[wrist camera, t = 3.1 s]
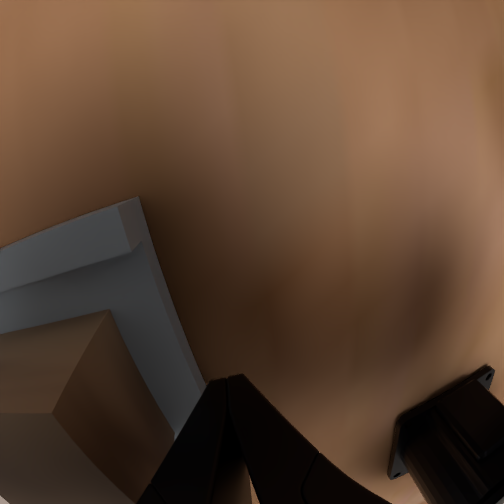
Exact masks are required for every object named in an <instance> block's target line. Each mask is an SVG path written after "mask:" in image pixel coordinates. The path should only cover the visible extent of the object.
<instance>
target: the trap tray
mask: <svg viewBox="0 0 504 504" xmlns="http://www.w3.org/2000/svg"><path fill="white" fill-rule="evenodd" d="M107 309H110V311H111V313H112V316H113V318H114V320H115V323H116V325H117V327H118V329H119V331H120V333H121V336H122V338H123V340H124V342H125V344H126V346H127V348H128V350H129V352H130V354H131V356H132V358H133V360H134V362H135V364H136V366H137V368H138V370H139V372H140V374H141V376H142V377H143V379H144V381H145V383H146V385H147V387H148V388H149V390H150V392H151V394H152V396H153V397H154V399H155V401H156V403H157V404H158V406H159V408H160V409H161V411H162V413H163V414H164V416H165V418H166V419H167V421H168V423H169V424H170V426H171V427H172V429H173V431H174V432H175V437H174V441H175V439H176V438H177V436H178V434H179V433H180V431H181V429H182V427H183V426H184V424H185V422H186V421H187V419H188V417H189V416H190V414H191V412H192V410H193V409H194V407H195V405H196V404H197V402H198V400H199V398H200V397H201V395H202V393H203V391H204V390H205V388H206V384H205V382H204V380H203V377H202V375H201V373H200V370H199V368H198V366H197V363H196V361H195V358H194V356H193V354H192V351H191V349H190V346H189V344H188V341H187V339H186V336H185V334H184V331H183V328H182V326H181V323H180V321H179V318H178V315H177V313H176V310H175V307H174V305H173V302H172V299H171V296H170V293H169V291H168V288H167V285H166V282H165V279H164V276H163V273H162V270H161V267H160V265H159V261H158V258H157V255H156V252H155V249H154V246H153V243H152V240H151V237H150V233H149V230H148V227H147V223H146V220H145V217H144V213H143V210H142V206H141V203H140V199H139V196H138V197H135V198H132V199H129V200H125V201H122V202H119V203H116V204H113V205H110V206H107V207H104V208H102V209H99V210H96V211H93V212H90V213H87V214H85V215H82V216H79V217H76V218H74V219H71V220H68V221H66V222H63V223H60V224H58V225H55V226H53V227H50V228H47V229H45V230H42V231H40V232H37V233H35V234H33V235H30V236H28V237H25V238H23V239H21V240H18V241H16V242H14V243H11V244H9V245H7V246H4V247H2V248H0V334H3V333H7V332H12V331H16V330H21V329H25V328H30V327H34V326H39V325H43V324H47V323H52V322H56V321H60V320H65V319H69V318H73V317H78V316H82V315H86V314H90V313H94V312H99V311H103V310H107Z"/></svg>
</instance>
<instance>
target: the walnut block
mask: <svg viewBox="0 0 504 504" xmlns="http://www.w3.org/2000/svg"><path fill="white" fill-rule="evenodd" d="M174 437H175V432H174V431H173V429H172V427H171V426H170V424H169V423H168V421H167V419H166V418H165V416H164V414H163V413H162V411H161V409H160V408H159V406H158V404H157V403H156V401H155V399H154V397H153V396H152V394H151V392H150V390H149V388H148V387H147V385H146V383H145V381H144V379H143V377H142V376H141V374H140V372H139V370H138V368H137V366H136V364H135V362H134V360H133V358H132V356H131V354H130V352H129V350H128V348H127V346H126V344H125V342H124V340H123V338H122V336H121V333H120V331H119V329H118V327H117V325H116V323H115V320H114V318H113V316H112V313H111V311H110V309H107V310H103V311H99V312H94V313H90V314H86V315H82V316H78V317H73V318H69V319H65V320H60V321H56V322H52V323H47V324H43V325H39V326H34V327H30V328H25V329H21V330H16V331H12V332H7V333H3V334H0V495H1V497H3V498H4V499H5V500H6V501H7V502H9V503H10V504H136V503H137V501H138V500H139V498H140V497H141V495H142V494H143V492H144V490H145V489H146V487H147V485H148V484H149V483H151V479H152V478H153V476H154V474H155V473H156V471H157V469H158V468H159V466H160V464H161V463H162V461H163V459H164V458H165V456H166V454H167V453H168V451H169V449H170V448H171V446H172V444H173V443H174ZM151 484H152V483H151Z"/></svg>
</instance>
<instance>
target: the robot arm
mask: <svg viewBox="0 0 504 504" xmlns="http://www.w3.org/2000/svg"><path fill="white" fill-rule="evenodd" d="M494 372H495V370H494V369H493V368H492V367H491V366H487V367H485V368H484V369H482V370H481V371H479V372H478V373H476V374H475V375H473V376H472V377H470V378H468V379H467V380H465V381H464V382H462V383H461V384H459V385H457V386H456V387H454V388H452V389H451V390H449V391H447V392H446V393H444V394H442V395H440V396H438V397H437V398H435V399H433V400H431V401H429V402H428V403H426V404H424V405H422V406H420V407H418V408H416V409H414V410H412V411H410V412H408V413H406V414H405V415H403V416H402V417H401V418H400V419H399V420H398V421H397V424H396V430H395V436H394V442H393V448H392V453H391V459H390V464H389V468H388V473H387V475H388V477H389V478H390V480H393V479H396V478H398V477H400V476H402V475H404V474H406V473H408V472H409V474H410V475H411V477H412V479H413V480H414V482H415V483H416V485H417V487H418V488H419V490H420V492H421V493H422V495H423V497H424V498H425V500H426V502H427V503H428V504H503V503H504V405H503V404H502V403H501V402H500V401H499V400H498V399H497V398H496V397H495V396H494V395H493V394H492V393H491V392H490V391H489V388H490V385H491V382H492V379H493V376H494ZM249 475H250V477H249ZM250 478H251V481H252V484H253V487H254V489H255V492H256V495H257V497H258V500H259V503H260V504H392V503H390V502H388V501H386V500H385V499H383V498H381V497H379V496H378V495H376V494H374V493H373V492H371V491H369V490H368V489H366V488H365V487H363V486H362V485H360V484H359V483H357V482H356V481H354V480H353V479H351V478H350V477H348V476H347V475H346V474H345V473H344V472H342V471H341V470H340V469H339V468H338V467H336V466H335V465H334V464H333V463H332V462H330V461H329V460H328V459H327V458H326V457H325V456H324V455H323V454H322V453H319V451H318V450H317V449H316V448H315V447H314V446H313V445H312V444H311V443H310V442H309V441H308V440H307V439H306V438H305V437H304V436H303V435H302V434H301V433H300V432H299V431H298V430H297V429H296V428H295V427H294V426H293V425H292V424H291V423H290V422H289V421H288V420H287V419H286V418H285V417H284V416H283V415H282V414H281V413H280V412H279V411H278V410H277V409H276V408H275V407H274V406H273V405H272V404H271V403H270V402H269V401H268V400H267V399H266V398H265V397H264V395H263V394H262V393H261V392H260V391H259V390H258V389H257V388H256V387H255V386H254V385H253V384H252V383H251V382H250V380H249V379H248V378H247V377H246V376H245V375H244V374H237V375H232V376H229V377H228V378H227V379H226V378H219V379H215V380H211V381H210V382H209V383H208V384H207V386H206V388H205V390H204V391H203V393H202V395H201V397H200V398H199V400H198V402H197V404H196V405H195V407H194V409H193V410H192V412H191V414H190V416H189V417H188V419H187V421H186V422H185V424H184V426H183V427H182V429H181V431H180V433H179V434H178V436H177V438H176V439H175V441H174V443H173V444H172V446H171V448H170V449H169V451H168V453H167V454H166V456H165V458H164V459H163V461H162V463H161V464H160V466H159V468H158V469H157V471H156V473H155V474H154V476H153V478H152V479H151V483H152V484H151V483H149V484H148V485H147V487H146V489H145V490H144V492H143V494H142V495H141V497H140V498H139V500H138V501H137V503H136V504H252V500H251V488H250Z"/></svg>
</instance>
